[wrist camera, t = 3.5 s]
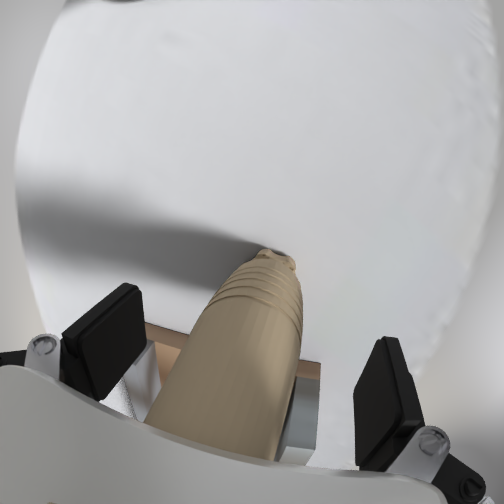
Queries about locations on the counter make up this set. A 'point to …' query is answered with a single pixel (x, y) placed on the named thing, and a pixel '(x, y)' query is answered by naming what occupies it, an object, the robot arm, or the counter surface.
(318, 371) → the track
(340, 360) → the counter surface
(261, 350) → the handle
